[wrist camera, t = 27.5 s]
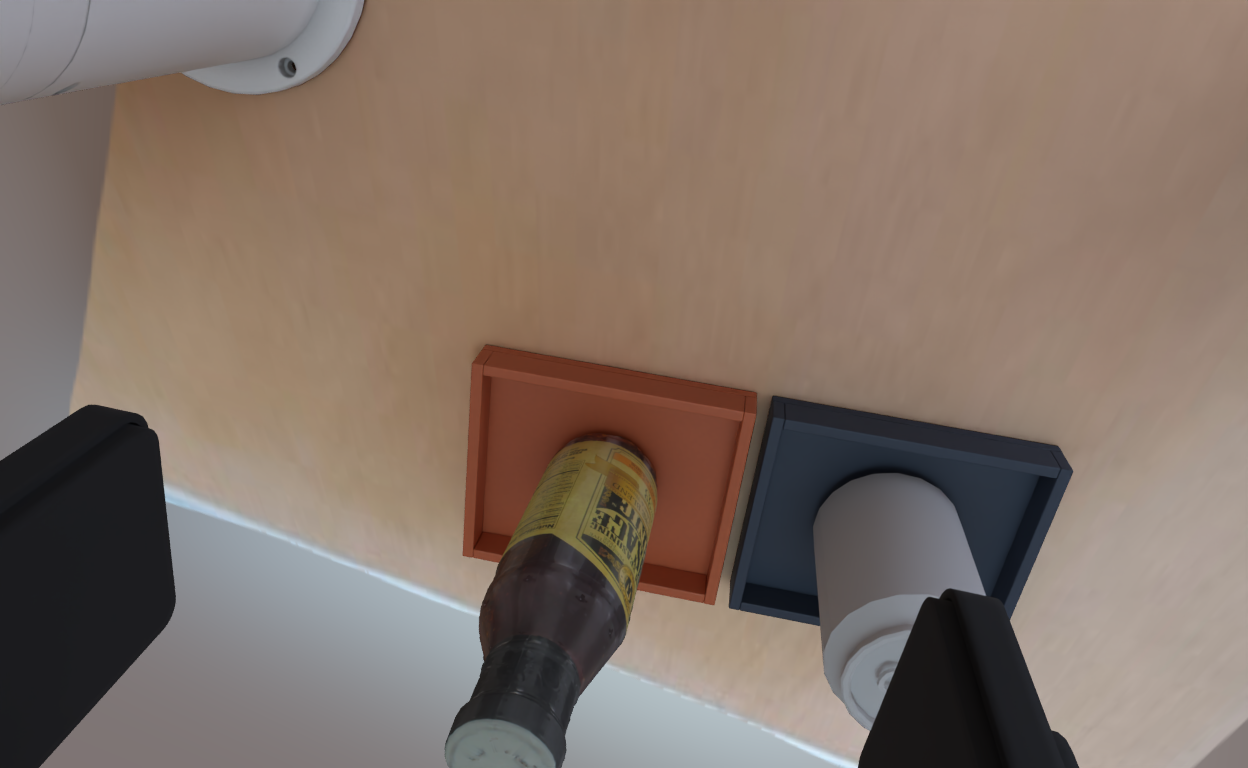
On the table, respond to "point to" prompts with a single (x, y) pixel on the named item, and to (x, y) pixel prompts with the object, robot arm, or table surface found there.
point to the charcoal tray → (873, 444)
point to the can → (882, 578)
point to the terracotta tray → (620, 406)
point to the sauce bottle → (557, 604)
